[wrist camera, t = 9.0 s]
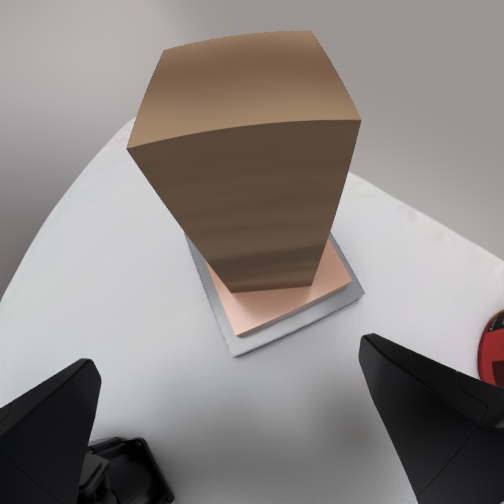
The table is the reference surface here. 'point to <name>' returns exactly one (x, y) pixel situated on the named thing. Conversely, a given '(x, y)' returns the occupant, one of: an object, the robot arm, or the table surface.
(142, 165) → the walnut post
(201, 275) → the pedestal
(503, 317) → the canned food
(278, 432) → the table surface
